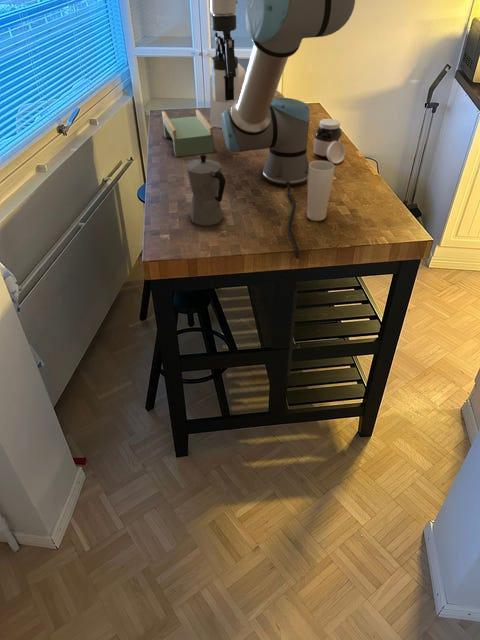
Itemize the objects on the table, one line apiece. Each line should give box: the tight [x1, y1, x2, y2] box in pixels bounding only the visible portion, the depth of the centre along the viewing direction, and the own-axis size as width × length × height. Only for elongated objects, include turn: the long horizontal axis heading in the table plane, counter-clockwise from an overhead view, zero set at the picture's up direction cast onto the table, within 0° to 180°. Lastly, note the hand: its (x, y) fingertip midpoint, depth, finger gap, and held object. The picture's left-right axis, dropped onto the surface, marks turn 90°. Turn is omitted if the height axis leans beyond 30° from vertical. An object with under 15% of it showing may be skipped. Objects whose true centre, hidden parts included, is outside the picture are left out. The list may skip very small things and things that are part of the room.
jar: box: [211, 55, 239, 103], centre depth 151 cm, size 9×8×12 cm
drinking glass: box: [306, 160, 335, 222], centre depth 128 cm, size 7×7×15 cm
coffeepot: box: [185, 154, 226, 227], centre depth 126 cm, size 15×9×18 cm, turn 39°
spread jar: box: [313, 118, 346, 164], centre depth 161 cm, size 12×11×12 cm
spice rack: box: [161, 109, 215, 158], centre depth 174 cm, size 22×14×9 cm, turn 17°
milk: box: [209, 62, 246, 129], centre depth 185 cm, size 12×12×26 cm
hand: (225, 95), depth 154 cm, fingers closed on jar, 9 cm apart
